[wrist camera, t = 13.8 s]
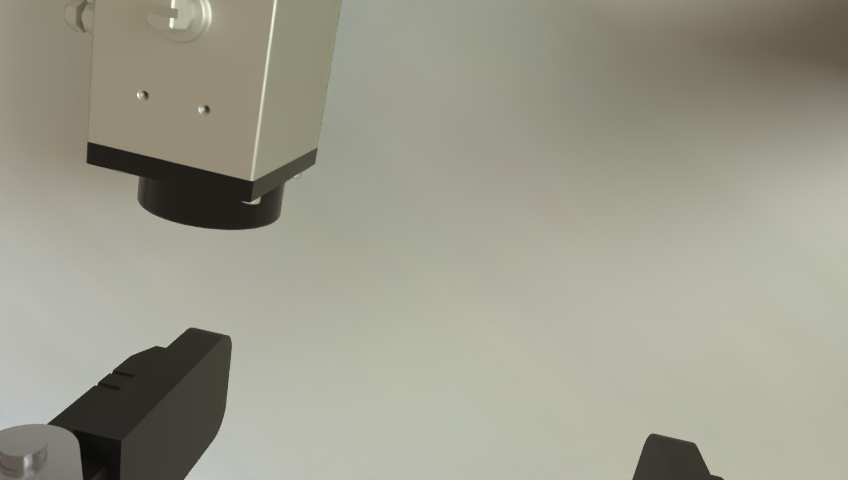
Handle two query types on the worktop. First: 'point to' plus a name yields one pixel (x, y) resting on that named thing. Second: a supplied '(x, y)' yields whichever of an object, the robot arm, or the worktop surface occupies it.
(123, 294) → the worktop surface
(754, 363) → the worktop surface
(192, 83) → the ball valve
